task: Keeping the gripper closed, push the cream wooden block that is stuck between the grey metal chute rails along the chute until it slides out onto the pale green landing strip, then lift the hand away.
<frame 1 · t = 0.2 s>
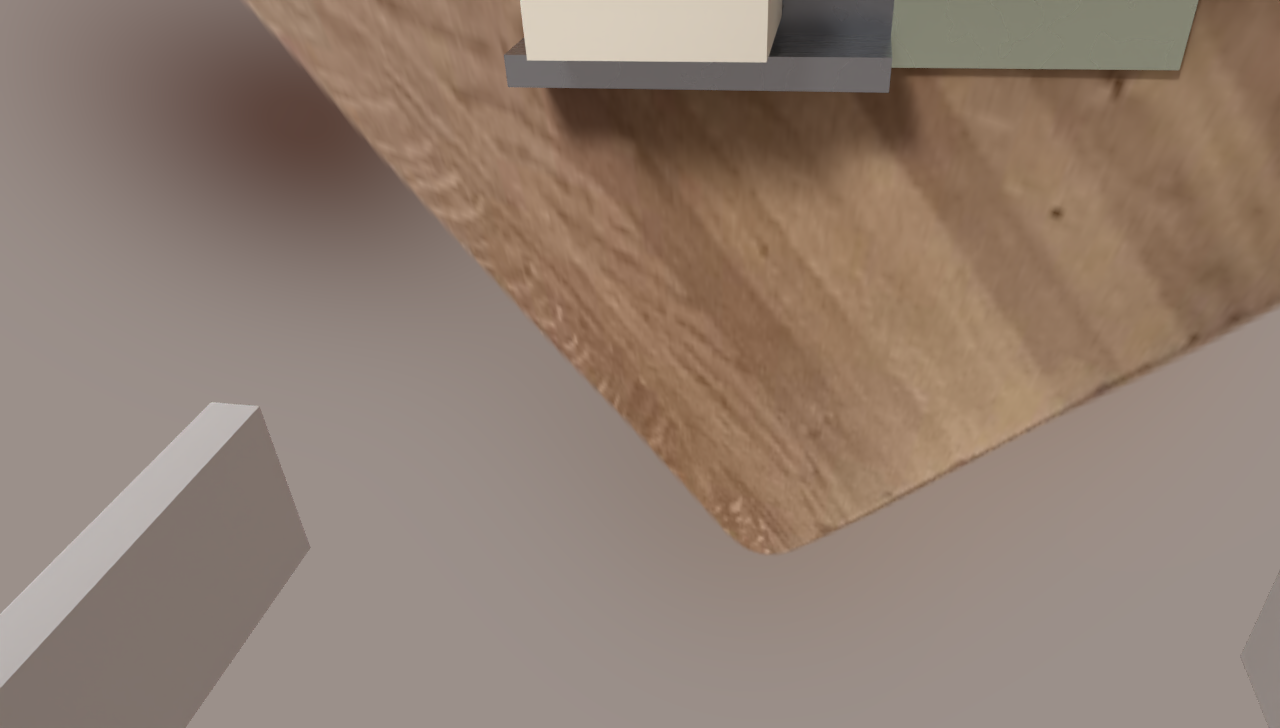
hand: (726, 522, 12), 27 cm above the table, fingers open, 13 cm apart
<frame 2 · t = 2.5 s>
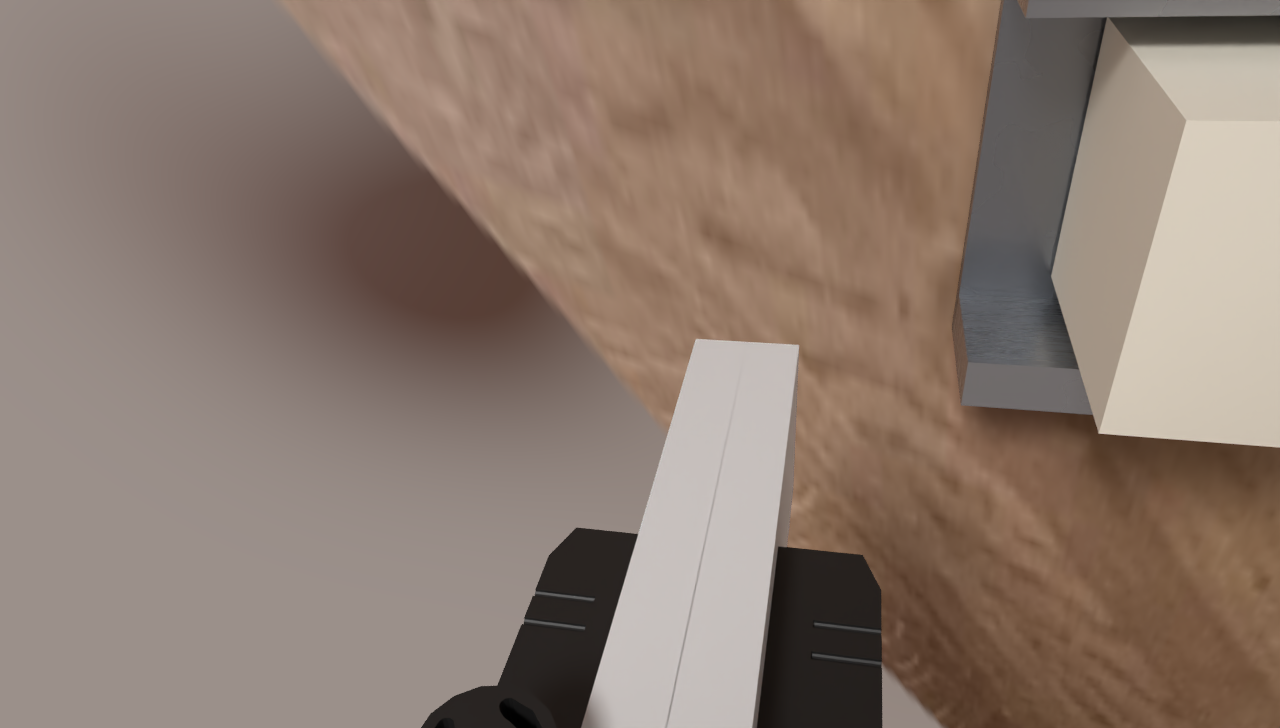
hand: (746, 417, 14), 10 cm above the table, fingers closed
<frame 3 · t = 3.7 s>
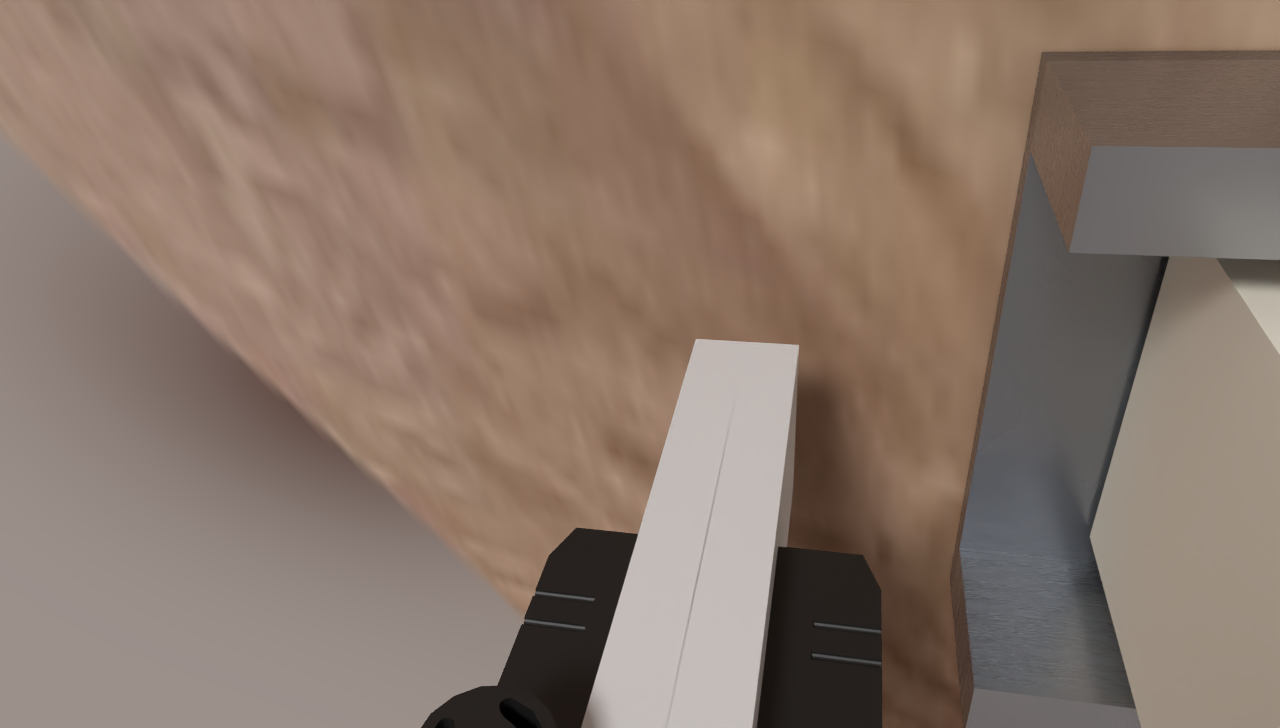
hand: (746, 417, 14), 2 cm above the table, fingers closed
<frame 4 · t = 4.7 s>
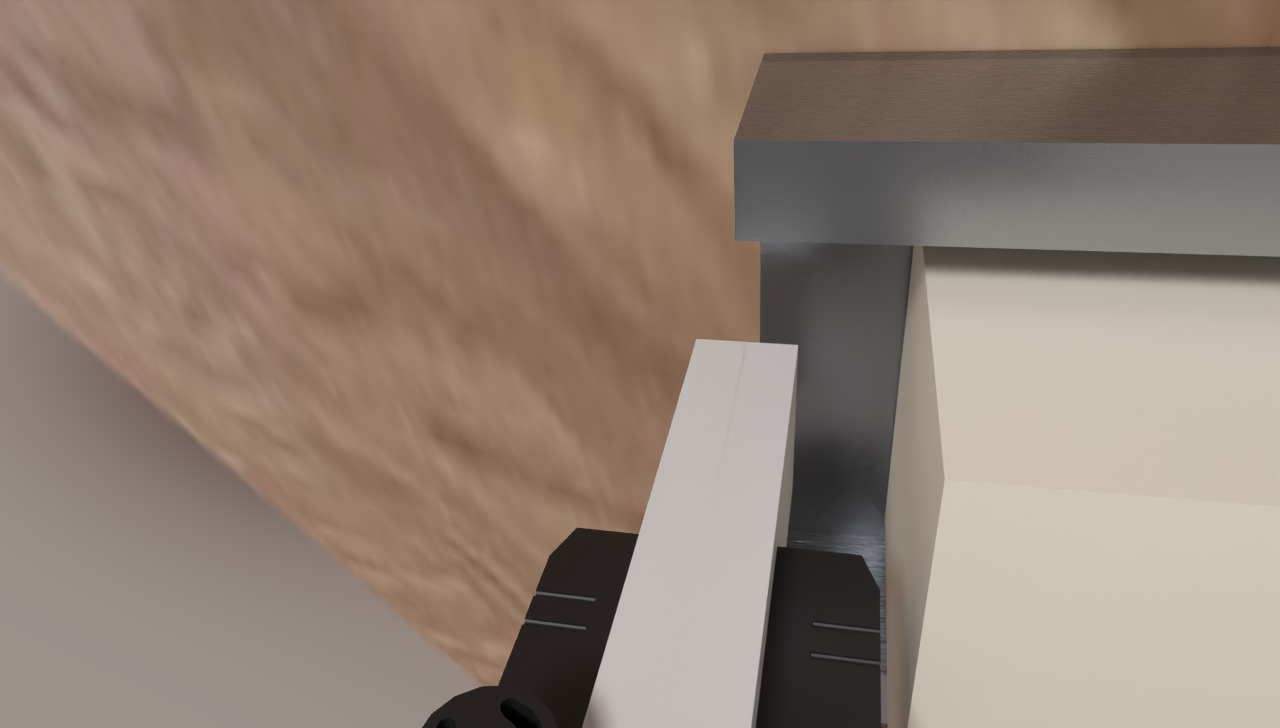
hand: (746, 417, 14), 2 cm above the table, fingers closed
chute: (1223, 375, 14), on the table
jammed block: (1242, 533, 11), point 4 cm above the table, slide at 0.2 cm, touching gripper
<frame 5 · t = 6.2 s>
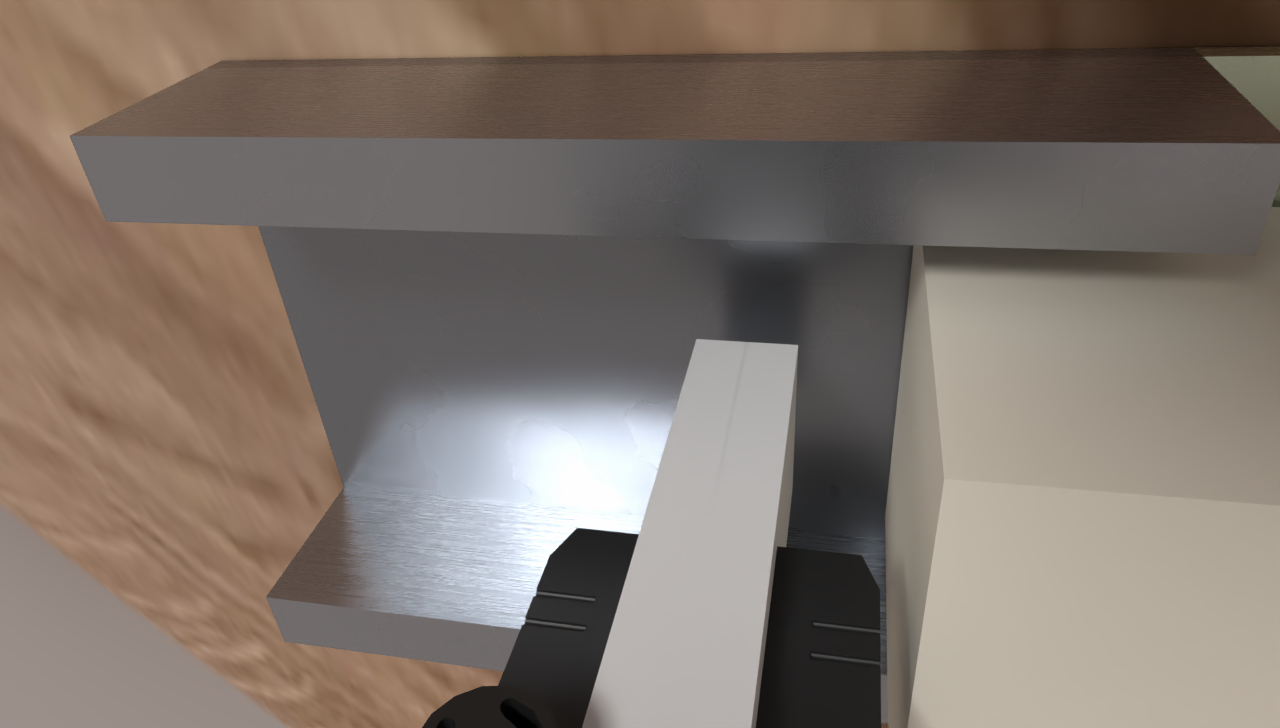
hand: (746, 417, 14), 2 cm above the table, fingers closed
chute: (670, 344, 16), on the table
jammed block: (1242, 533, 11), point 4 cm above the table, slide at 8.8 cm, touching gripper
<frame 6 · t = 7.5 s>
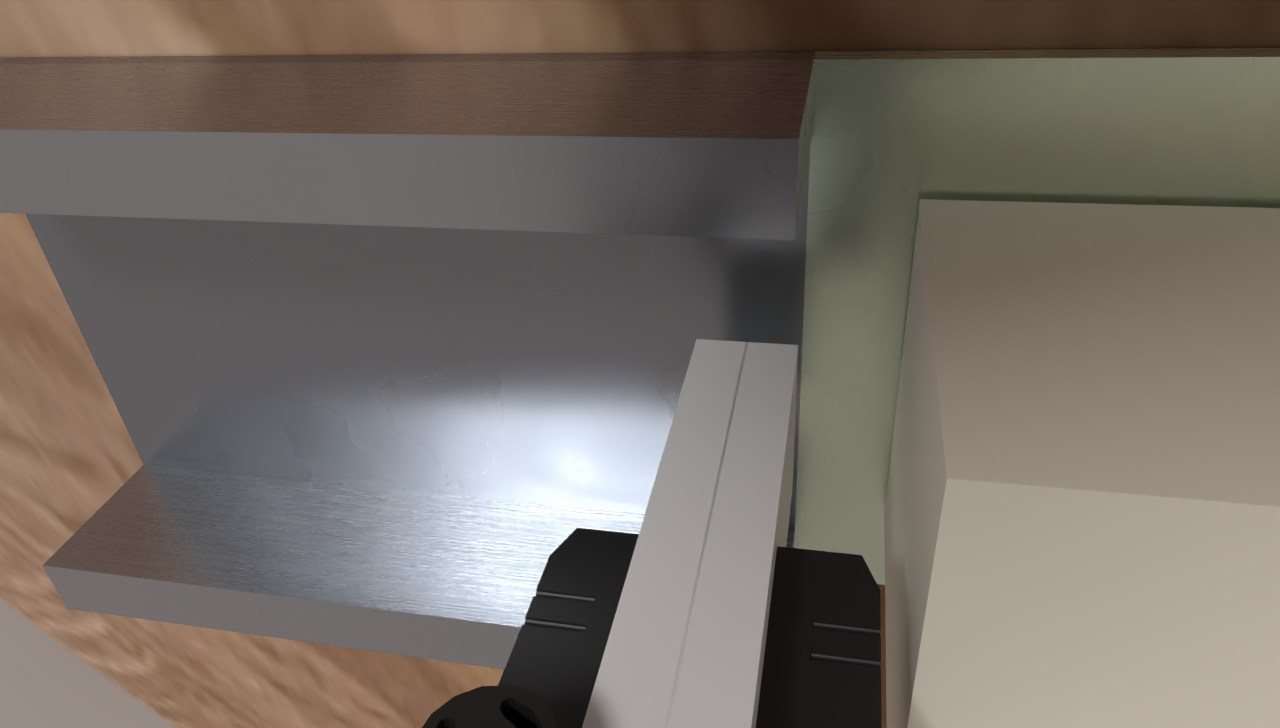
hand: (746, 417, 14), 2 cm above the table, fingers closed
chute: (415, 327, 17), on the table
jammed block: (1241, 533, 11), point 4 cm above the table, slide at 13.6 cm, touching gripper
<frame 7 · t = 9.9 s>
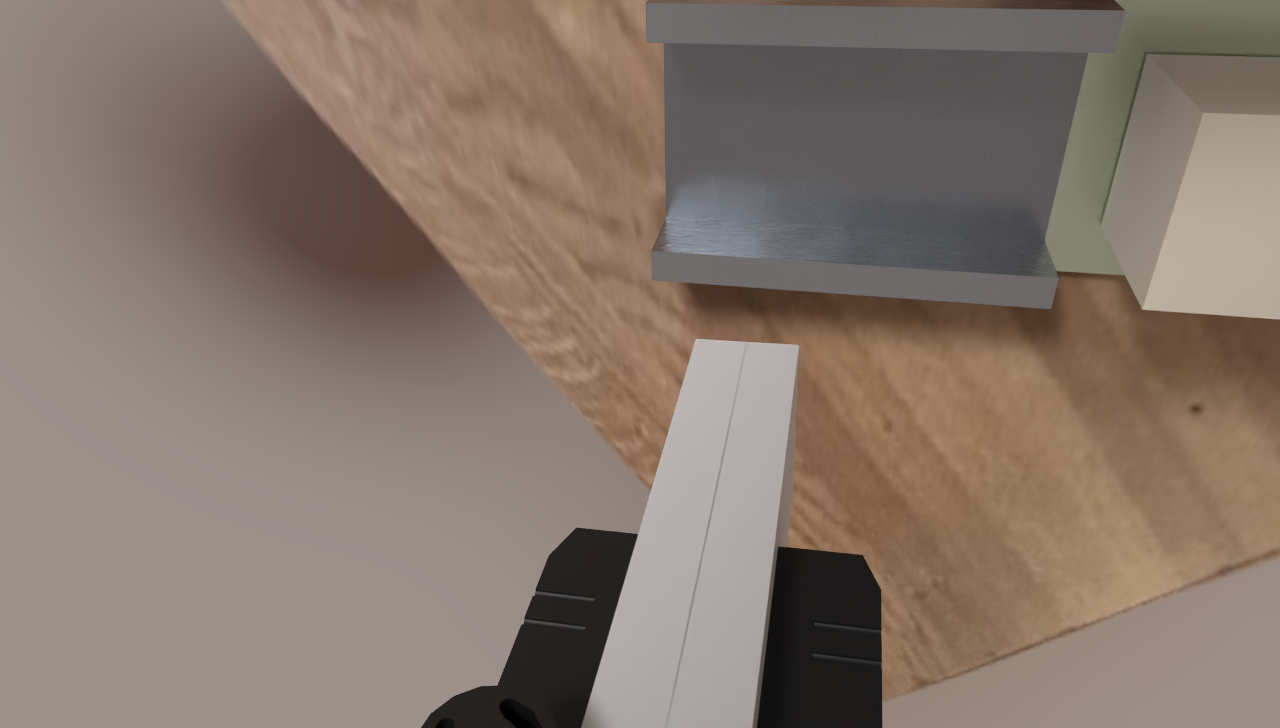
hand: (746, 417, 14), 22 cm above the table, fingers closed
chute: (858, 129, 33), on the table
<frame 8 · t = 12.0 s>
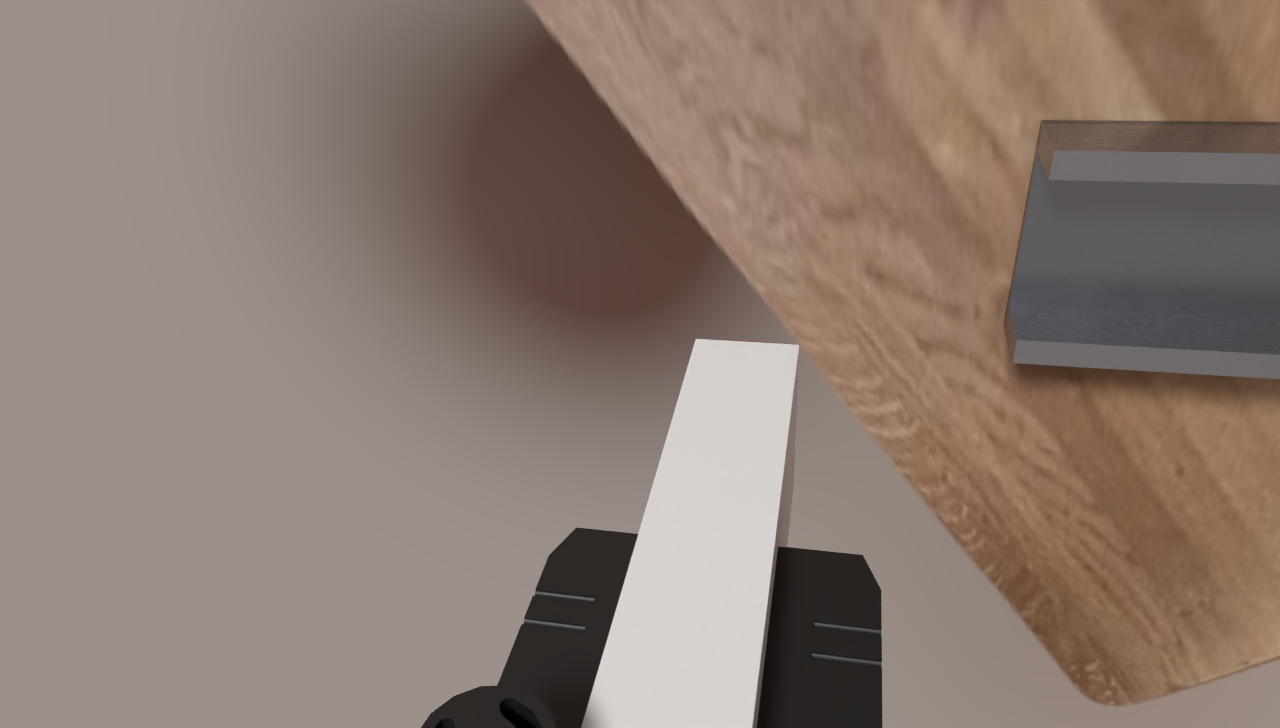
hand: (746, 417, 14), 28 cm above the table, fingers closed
chute: (1195, 234, 39), on the table
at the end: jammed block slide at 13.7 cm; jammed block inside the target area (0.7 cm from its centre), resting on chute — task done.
